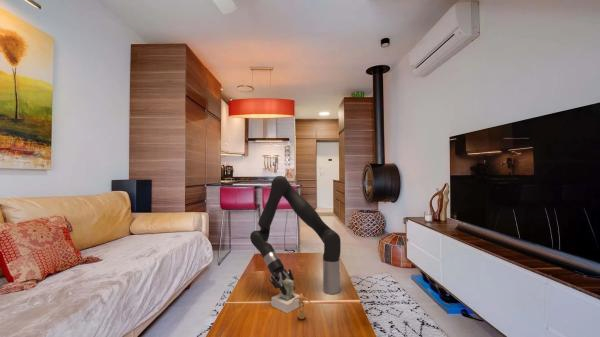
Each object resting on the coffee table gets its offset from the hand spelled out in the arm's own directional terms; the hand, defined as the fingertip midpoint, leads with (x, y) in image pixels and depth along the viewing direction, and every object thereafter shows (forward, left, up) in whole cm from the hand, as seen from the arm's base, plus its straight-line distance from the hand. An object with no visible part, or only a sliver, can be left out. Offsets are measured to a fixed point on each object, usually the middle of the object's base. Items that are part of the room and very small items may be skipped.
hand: (289, 292), depth 127 cm
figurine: (+5, +12, -7) cm, 15 cm away
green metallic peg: (0, -2, -7) cm, 7 cm away
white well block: (0, -2, -7) cm, 7 cm away
